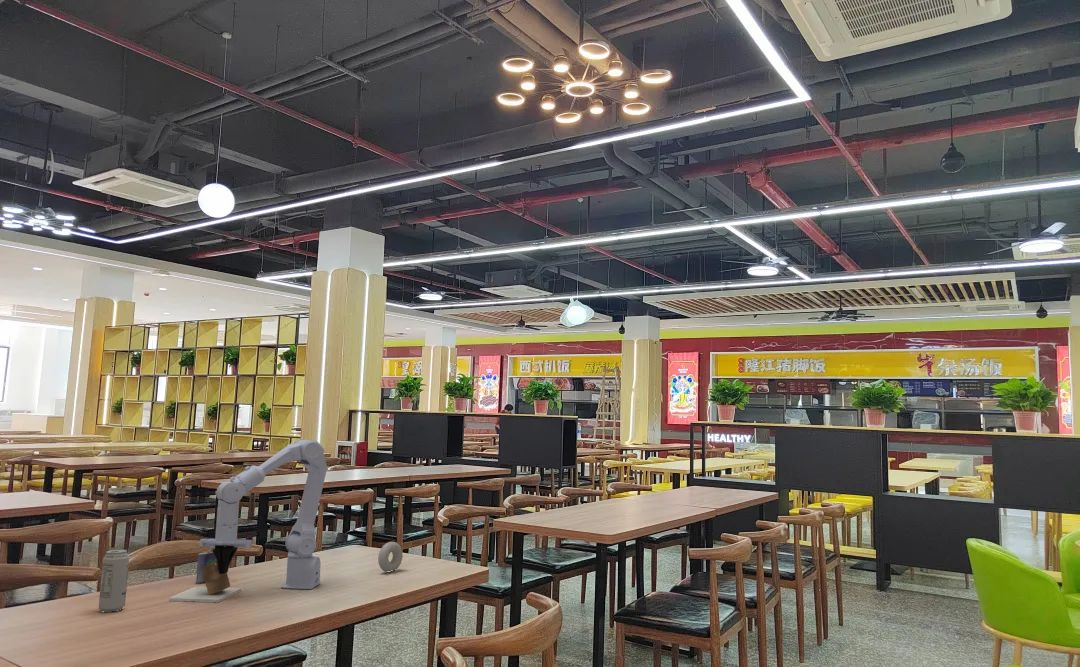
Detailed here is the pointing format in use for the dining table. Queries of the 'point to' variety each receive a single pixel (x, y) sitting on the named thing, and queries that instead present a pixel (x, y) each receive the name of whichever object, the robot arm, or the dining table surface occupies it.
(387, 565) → the donut
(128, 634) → the dining table surface
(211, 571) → the walnut block
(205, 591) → the stone board
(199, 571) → the flask
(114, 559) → the energy drink can
